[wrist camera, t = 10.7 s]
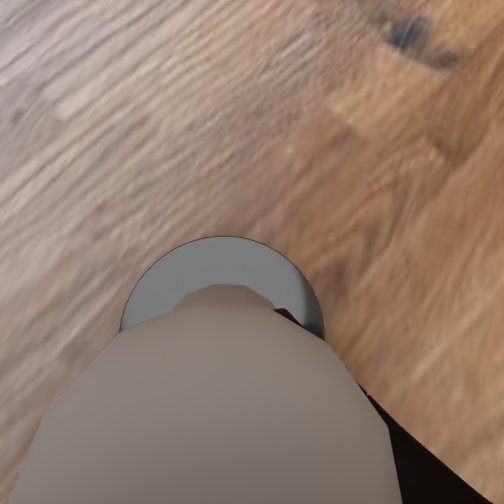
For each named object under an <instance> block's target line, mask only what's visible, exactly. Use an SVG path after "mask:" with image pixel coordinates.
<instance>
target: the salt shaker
mask: <svg viewBox="0 0 504 504" xmlns="http://www.w3.org/2000/svg"><path fill="white" fill-rule="evenodd" d="M273 309H276V308H275V306H274V305H273V303H272V302H271V301H270V300H268V299H267V298H265V297H263V296H262V295H260V294H258V293H257V292H255V291H253V290H252V289H250V288H248V287H247V286H245V285H229V284H213V285H210V286H207V287H205V288H202V289H199V290H196V291H193V292H191V293H188V294H186V295H185V296H184V297H183V298H182V299H181V300H180V301H179V302H178V303H177V304H176V306H175V307H174V308H173V309H172V310H171V311H170V312H167V313H164V314H162V315H159V316H157V317H154V318H151V319H149V320H146V321H143V322H141V323H138V324H135V325H133V326H130V327H127V328H125V329H124V330H123V331H121V332H120V333H119V334H118V335H117V336H116V337H115V338H114V339H113V340H112V341H111V342H110V343H109V344H108V345H107V346H106V347H105V348H104V349H103V351H102V352H101V353H100V354H99V355H98V356H97V357H96V358H95V359H94V360H93V361H92V362H91V363H90V364H89V365H88V366H87V367H86V368H85V369H84V370H83V371H82V372H81V373H80V374H79V375H78V377H77V378H76V379H75V380H74V381H73V382H72V383H71V384H70V385H69V386H68V387H67V388H66V389H65V390H64V391H63V392H62V393H61V394H60V395H59V396H58V397H57V398H56V399H55V400H54V401H53V403H52V404H51V405H50V406H49V407H48V408H47V409H46V410H45V412H44V415H43V417H42V420H41V422H40V425H39V427H38V429H37V432H36V434H35V437H34V439H33V442H32V444H31V447H30V449H29V452H28V454H27V456H26V459H25V461H24V464H23V466H22V469H21V471H20V474H19V476H18V479H17V481H16V483H15V486H14V488H13V491H12V493H11V496H10V498H9V501H8V503H7V504H402V499H401V494H400V488H399V483H398V478H397V472H396V467H395V462H394V457H393V451H392V446H391V441H390V435H389V430H388V427H387V425H386V424H385V422H384V421H383V419H382V418H381V417H380V415H379V414H378V412H377V411H376V410H375V408H374V407H373V405H372V404H371V402H370V401H369V400H368V398H367V397H366V395H365V394H364V393H363V391H362V390H361V388H360V387H359V385H358V384H357V383H356V381H355V380H354V378H353V377H352V376H351V374H350V373H349V371H348V370H347V368H346V367H345V366H344V364H343V363H342V361H341V360H340V359H339V357H338V356H337V355H336V353H335V352H334V351H333V349H332V348H331V347H330V345H329V344H328V343H327V342H325V341H323V340H322V339H320V338H318V337H317V336H315V335H313V334H312V333H310V332H308V331H307V330H305V329H303V328H302V327H300V326H298V325H297V324H295V323H293V322H292V321H290V320H288V319H287V318H285V317H283V316H282V315H280V314H278V313H277V312H275V311H273Z"/></svg>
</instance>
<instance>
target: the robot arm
mask: <svg viewBox="0 0 504 504" xmlns="http://www.w3.org/2000/svg"><path fill="white" fill-rule="evenodd" d="M273 311H275V312H277V313H278V314H280V315H282V316H283V317H285V318H287V319H288V320H290V321H292V322H293V323H295V324H297V325H298V326H300V327H302V328H303V329H305V328H304V327H303V326H302V325H301V324H300V323H299V322H298V321H297V319H296V318H295V317H294V316H293V315H292V314H291V313H290V312H289V311H288V310H287V309H286V308H279V309H273ZM305 330H306V329H305ZM354 380H355V379H354ZM355 381H356V380H355ZM356 383H357V382H356ZM357 384H358V383H357ZM358 385H359V384H358ZM359 387H360V388H361V390H362V391H363V393H364V394H365V395H366V397H367V398H368V400H369V401H370V402H371V404H372V405H373V407H374V408H375V410H376V411H377V412H378V414H379V415H380V417H381V418H382V419H383V421H384V422H385V424H386V425H387V427H388V430H389V435H390V441H391V446H392V451H393V457H394V462H395V467H396V472H397V478H398V483H399V488H400V494H401V499H402V504H493V503H492V502H490V501H489V500H487V499H486V498H485V497H483V496H482V495H481V494H479V493H478V492H477V491H475V490H474V489H473V488H472V487H471V486H469V485H468V484H467V483H466V482H465V481H464V480H462V479H461V478H460V477H459V476H458V475H457V474H455V473H454V472H453V471H452V470H451V469H450V468H448V467H447V466H446V465H445V464H444V463H443V462H441V461H440V460H439V459H438V458H437V457H436V456H435V455H433V454H432V453H431V452H430V451H429V450H428V449H426V448H425V447H424V446H423V445H422V444H421V443H419V442H418V441H417V440H416V439H415V438H414V437H413V436H411V435H410V434H409V433H408V432H407V431H406V430H405V429H404V428H403V427H401V426H400V425H399V424H398V423H397V422H396V421H395V420H394V419H393V418H392V417H391V416H390V415H389V414H388V413H387V412H386V411H385V410H384V409H383V408H382V407H381V406H380V405H379V404H378V403H377V402H376V401H375V400H374V399H373V398H372V397H371V396H370V395H367V392H366V391H365V390H364V389H363V388H362V387H361V386H360V385H359Z"/></svg>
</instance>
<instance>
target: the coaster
mask: <svg viewBox="0 0 504 504" xmlns="http://www.w3.org/2000/svg"><path fill="white" fill-rule="evenodd" d="M213 284H229V285H245V286H247V287H248V288H250V289H252V290H253V291H255V292H257V293H258V294H260V295H262V296H263V297H265V298H267V299H268V300H270V301H271V302H272V303H273V305H274V306H275V308H276V309H279V308H286V309H287V310H288V311H289V312H290V313H291V314H292V315H293V316H294V317H295V318H296V319H297V321H298V322H299V323H300V324H301V325H302V326H303V327H304V328H305V329H306V330H307V331H308V332H310V333H312V334H313V335H315V336H317V337H318V338H320V339H322V340H323V341H325V334H324V323H323V318H322V313H321V310H320V306H319V303H318V300H317V298H316V296H315V294H314V292H313V289H312V288H311V286H310V284H309V283H308V281H307V280H306V278H305V277H304V276H303V274H302V273H301V272H300V271H299V269H298V268H297V267H296V266H295V265H294V264H293V263H292V262H291V261H290V260H289V259H287V258H286V257H284V256H283V255H282V254H280V253H279V252H278V251H276V250H274V249H272V248H270V247H269V246H267V245H264V244H262V243H259V242H257V241H254V240H250V239H246V238H242V237H234V236H214V237H206V238H202V239H198V240H194V241H191V242H188V243H186V244H183V245H181V246H179V247H177V248H175V249H173V250H172V251H170V252H168V253H167V254H165V255H164V256H163V257H161V258H160V259H159V260H157V261H156V262H155V263H154V264H153V265H152V266H151V267H150V268H149V269H148V270H147V271H146V272H145V274H144V275H143V276H142V277H141V278H140V280H139V281H138V283H137V284H136V286H135V287H134V289H133V291H132V292H131V294H130V297H129V299H128V301H127V303H126V306H125V309H124V312H123V315H122V318H121V324H120V330H119V333H120V332H121V331H123V330H124V329H125V328H127V327H130V326H133V325H135V324H138V323H141V322H143V321H146V320H149V319H151V318H154V317H157V316H159V315H162V314H164V313H167V312H170V311H171V310H172V309H173V308H174V307H175V306H176V304H177V303H178V302H179V301H180V300H181V299H182V298H183V297H184V296H185V295H186V294H188V293H191V292H193V291H196V290H199V289H202V288H205V287H207V286H210V285H213Z"/></svg>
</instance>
